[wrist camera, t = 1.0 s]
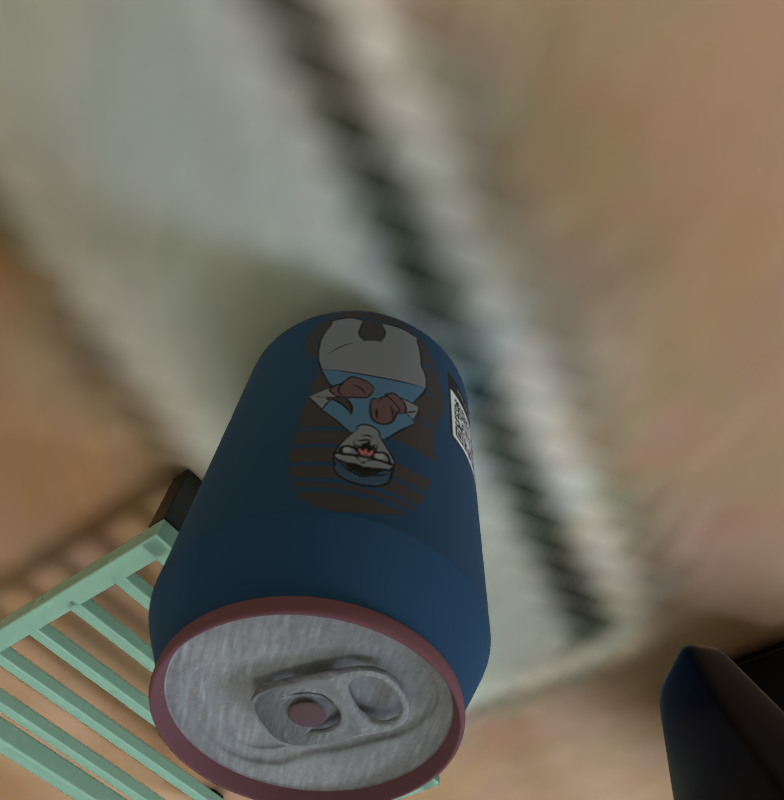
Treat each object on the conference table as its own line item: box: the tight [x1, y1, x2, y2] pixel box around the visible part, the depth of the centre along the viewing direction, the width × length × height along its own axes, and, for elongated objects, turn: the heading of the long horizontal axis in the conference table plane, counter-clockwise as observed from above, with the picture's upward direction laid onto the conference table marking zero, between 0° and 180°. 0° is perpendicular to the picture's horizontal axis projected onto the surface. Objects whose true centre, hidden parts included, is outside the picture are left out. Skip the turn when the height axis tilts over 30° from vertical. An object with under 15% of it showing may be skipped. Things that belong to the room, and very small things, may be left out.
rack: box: [0, 470, 440, 800], centre depth 28 cm, size 16×14×4 cm
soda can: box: [149, 311, 491, 800], centre depth 18 cm, size 7×7×12 cm
